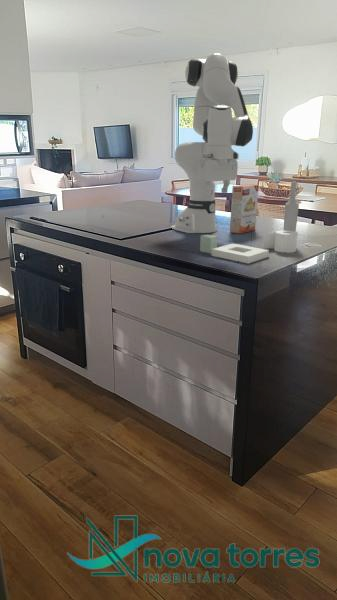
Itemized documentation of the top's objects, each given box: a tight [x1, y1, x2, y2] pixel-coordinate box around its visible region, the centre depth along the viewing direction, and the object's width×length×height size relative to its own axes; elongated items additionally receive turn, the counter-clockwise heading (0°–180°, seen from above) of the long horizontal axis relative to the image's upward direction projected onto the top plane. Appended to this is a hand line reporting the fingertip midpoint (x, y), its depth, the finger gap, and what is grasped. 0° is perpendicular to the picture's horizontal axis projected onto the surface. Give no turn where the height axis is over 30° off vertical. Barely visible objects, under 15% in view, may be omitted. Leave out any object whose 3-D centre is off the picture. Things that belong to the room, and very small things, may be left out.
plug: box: [199, 233, 219, 254], centre depth 169 cm, size 5×4×6 cm
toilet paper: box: [262, 229, 299, 254], centre depth 171 cm, size 8×11×7 cm
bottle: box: [283, 181, 300, 232], centre depth 175 cm, size 5×5×25 cm
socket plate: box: [211, 243, 270, 264], centre depth 163 cm, size 16×13×2 cm
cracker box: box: [229, 183, 260, 235], centre depth 204 cm, size 14×6×21 cm, turn 140°
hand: (217, 193), depth 164 cm, fingers open, 8 cm apart
